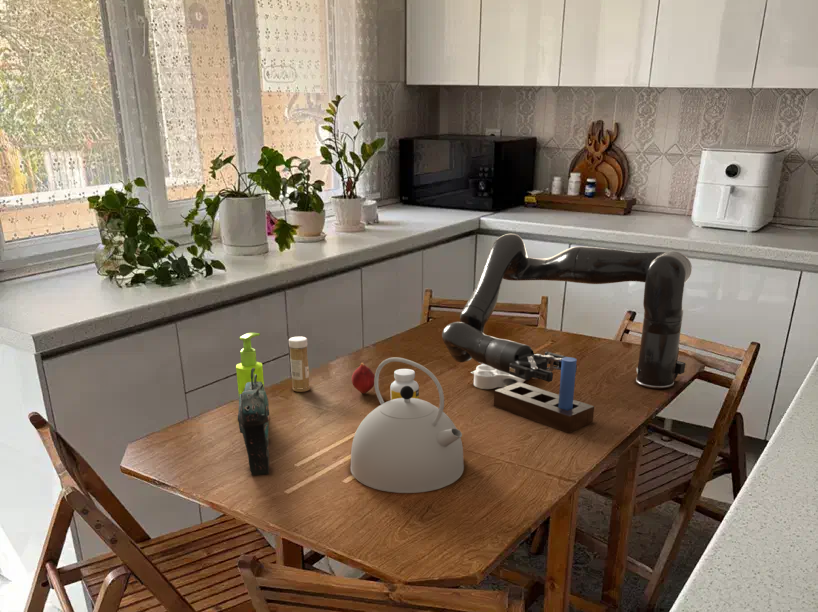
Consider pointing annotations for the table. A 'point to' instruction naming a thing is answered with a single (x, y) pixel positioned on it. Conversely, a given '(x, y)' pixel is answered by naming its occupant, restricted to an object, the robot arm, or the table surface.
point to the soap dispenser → (248, 363)
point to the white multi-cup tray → (493, 378)
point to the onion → (363, 379)
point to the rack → (542, 407)
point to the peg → (567, 383)
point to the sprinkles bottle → (299, 363)
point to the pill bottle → (404, 383)
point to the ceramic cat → (255, 425)
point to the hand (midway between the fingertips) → (563, 373)
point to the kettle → (407, 443)
